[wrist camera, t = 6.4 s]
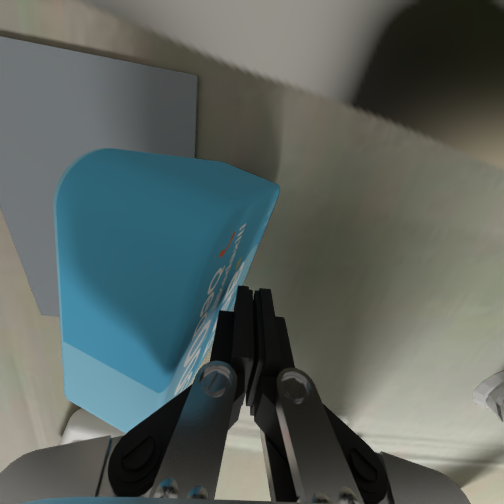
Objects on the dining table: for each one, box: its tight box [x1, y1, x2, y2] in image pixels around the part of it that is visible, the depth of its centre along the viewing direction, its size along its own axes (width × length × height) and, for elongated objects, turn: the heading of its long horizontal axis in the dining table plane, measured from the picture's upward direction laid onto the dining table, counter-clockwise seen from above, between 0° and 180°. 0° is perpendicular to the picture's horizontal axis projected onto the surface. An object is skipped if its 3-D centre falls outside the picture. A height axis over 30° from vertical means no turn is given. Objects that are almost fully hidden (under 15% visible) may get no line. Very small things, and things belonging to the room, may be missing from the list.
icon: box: [58, 408, 126, 446], centre depth 31 cm, size 12×4×10 cm
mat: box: [0, 36, 198, 317], centre depth 17 cm, size 15×22×1 cm
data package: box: [53, 148, 280, 433], centre depth 12 cm, size 12×4×12 cm, turn 160°
